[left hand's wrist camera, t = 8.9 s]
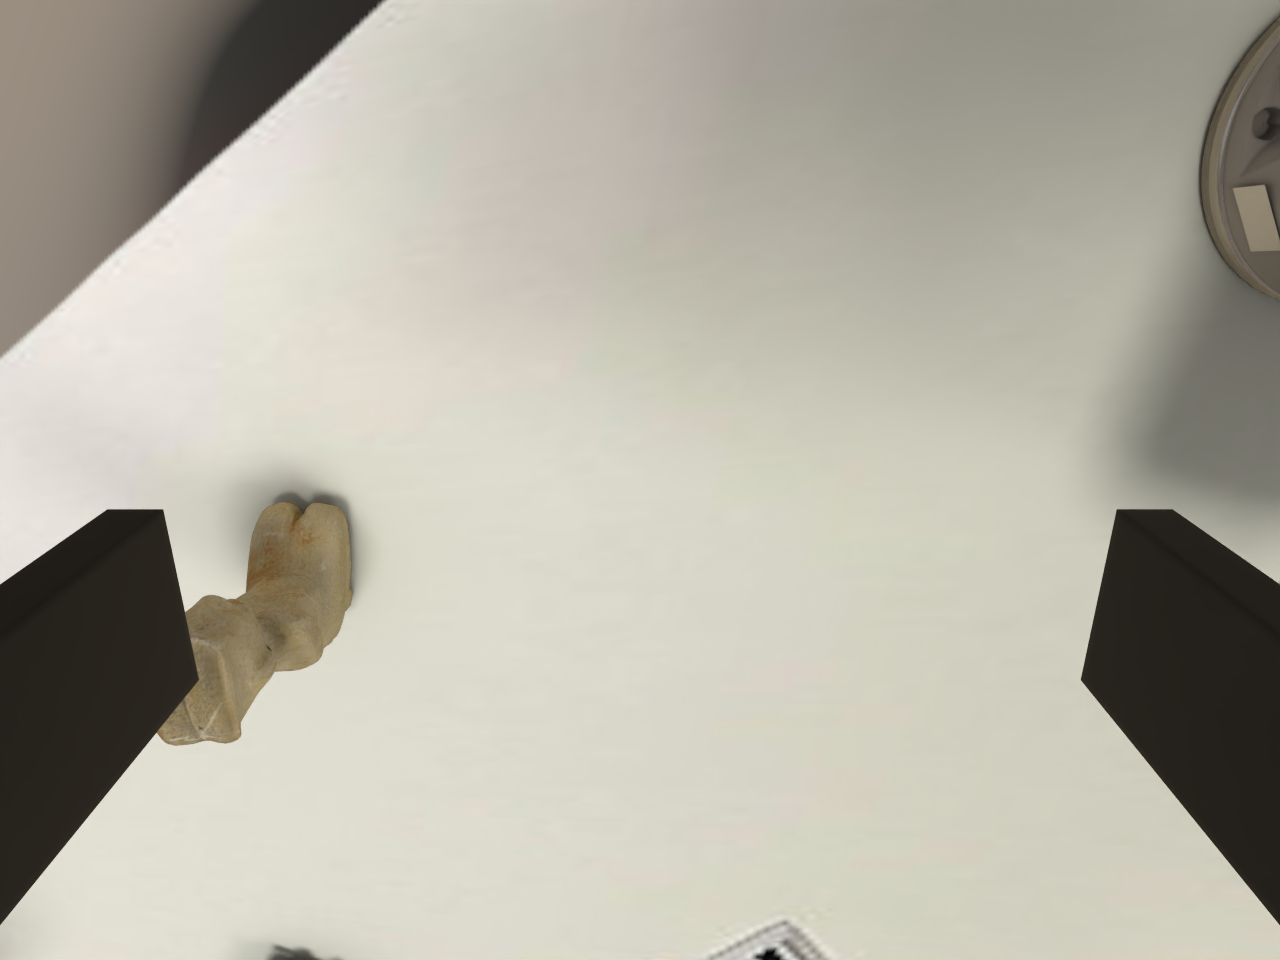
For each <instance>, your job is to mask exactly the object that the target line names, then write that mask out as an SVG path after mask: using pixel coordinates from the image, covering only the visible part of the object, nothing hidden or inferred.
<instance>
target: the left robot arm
mask: <svg viewBox="0 0 1280 960" xmlns="http://www.w3.org/2000/svg"><path fill="white" fill-rule="evenodd" d="M1201 189H1202V200H1203V207H1204V212H1205V217H1206V221H1207V224H1208V227H1209V231H1210V234H1211V236H1212V238H1213V240H1214V242H1215V245H1216V247H1217V248H1218V250H1219V252H1220V253H1221V255H1222V257H1223V258H1224V260H1225V261H1226V262H1227V263H1228V265H1229V266H1230V267H1231V268H1232V270H1233V271H1234V272H1235V273H1236V274H1238V275H1239V276H1240V277H1241V278H1242V279H1243V280H1244V281H1245V282H1247V283H1248V284H1249V285H1251V286H1252V287H1254V288H1255V289H1257V290H1259V291H1260V292H1262V293H1264V294H1266V295H1268V296H1270V297H1273V298H1275V299H1278V300H1280V18H1279V19H1278V20H1277V21H1276V22H1274V23H1273V24H1272V25H1271V27H1270V28H1269V29H1268V30H1267V31H1266V32H1265V33H1264V34H1263V35H1262V36H1261V37H1260V38H1259V40H1258V41H1257V42H1256V43H1255V45H1254V46H1253V47H1252V48H1251V50H1250V51H1249V52H1248V53H1247V55H1246V56H1245V58H1244V59H1243V61H1242V62H1241V63H1240V65H1239V66H1238V68H1237V69H1236V71H1235V73H1234V74H1233V76H1232V78H1231V80H1230V81H1229V83H1228V85H1227V87H1226V89H1225V91H1224V93H1223V95H1222V97H1221V99H1220V101H1219V103H1218V106H1217V108H1216V111H1215V114H1214V116H1213V119H1212V122H1211V125H1210V129H1209V132H1208V136H1207V139H1206V144H1205V149H1204V155H1203V163H1202V180H1201ZM198 681H199V677H198V672H197V667H196V663H195V658H194V653H193V648H192V644H191V639H190V634H189V630H188V625H187V620H186V615H185V611H184V606H183V601H182V596H181V592H180V587H179V582H178V578H177V573H176V568H175V563H174V559H173V554H172V549H171V544H170V540H169V535H168V530H167V526H166V521H165V516H164V511H163V509H107V510H106V511H105V512H103V513H102V514H100V515H99V516H97V517H96V518H95V519H93V520H92V521H90V522H89V523H87V524H86V525H85V526H83V527H82V528H80V529H79V530H77V531H76V532H75V533H73V534H72V535H70V536H69V537H67V538H66V539H65V540H63V541H62V542H60V543H59V544H57V545H56V546H55V547H53V548H52V549H50V550H49V551H47V552H46V553H45V554H43V555H42V556H40V557H39V558H37V559H36V560H35V561H33V562H32V563H30V564H29V565H27V566H26V567H25V568H23V569H22V570H20V571H19V572H17V573H16V574H15V575H13V576H12V577H10V578H9V579H7V580H6V581H5V582H3V583H2V584H0V925H1V923H2V922H3V921H4V920H5V918H6V917H7V916H8V915H9V914H10V912H11V911H12V910H13V909H14V907H15V906H16V905H17V904H18V902H19V901H20V900H21V899H22V898H23V896H24V895H25V894H26V893H27V891H28V890H29V889H30V888H31V886H32V885H33V884H34V883H35V882H36V880H37V879H38V878H39V877H40V875H41V874H42V873H43V872H44V870H45V869H46V868H47V867H48V866H49V864H50V863H51V862H52V861H53V859H54V858H55V857H56V856H57V854H58V853H59V852H60V851H61V850H62V848H63V847H64V846H65V845H66V843H67V842H68V841H69V840H70V838H71V837H72V836H73V835H74V833H75V832H76V831H77V830H78V829H79V827H80V826H81V825H82V824H83V822H84V821H85V820H86V819H87V817H88V816H89V815H90V814H91V813H92V811H93V810H94V809H95V808H96V806H97V805H98V804H99V803H100V801H101V800H102V799H103V798H104V797H105V795H106V794H107V793H108V792H109V790H110V789H111V788H112V787H113V785H114V784H115V783H116V782H117V781H118V779H119V778H120V777H121V776H122V774H123V773H124V772H125V771H126V769H127V768H128V767H129V766H130V765H131V763H132V762H133V761H134V760H135V758H136V757H137V756H138V755H139V753H140V752H141V751H142V750H143V749H144V747H145V746H146V745H147V744H148V742H149V741H150V740H151V739H152V737H153V736H154V735H155V734H156V733H157V731H158V730H159V729H160V728H161V726H162V725H163V724H164V723H165V721H166V720H167V719H168V718H169V716H170V715H171V714H172V713H173V712H174V710H175V709H176V708H177V707H178V705H179V704H180V703H181V702H182V700H183V699H184V698H185V697H186V696H187V694H188V693H189V692H190V691H191V689H192V688H193V687H194V686H195V684H196V683H197V682H198ZM1081 681H1082V682H1083V683H1084V684H1085V686H1086V687H1087V688H1088V689H1089V691H1090V692H1091V693H1092V694H1093V696H1094V697H1095V698H1096V699H1097V700H1098V702H1099V703H1100V704H1101V705H1102V707H1103V708H1104V709H1105V710H1106V712H1107V713H1108V714H1109V715H1110V717H1111V718H1112V719H1113V720H1114V721H1115V723H1116V724H1117V725H1118V726H1119V728H1120V729H1121V730H1122V731H1123V733H1124V734H1125V735H1126V736H1127V737H1128V739H1129V740H1130V741H1131V742H1132V744H1133V745H1134V746H1135V747H1136V749H1137V750H1138V751H1139V752H1140V753H1141V755H1142V756H1143V757H1144V758H1145V760H1146V761H1147V762H1148V763H1149V765H1150V766H1151V767H1152V768H1153V769H1154V771H1155V772H1156V773H1157V774H1158V776H1159V777H1160V778H1161V779H1162V781H1163V782H1164V783H1165V784H1166V785H1167V787H1168V788H1169V789H1170V790H1171V792H1172V793H1173V794H1174V795H1175V797H1176V798H1177V799H1178V800H1179V801H1180V803H1181V804H1182V805H1183V806H1184V808H1185V809H1186V810H1187V811H1188V813H1189V814H1190V815H1191V816H1192V817H1193V819H1194V820H1195V821H1196V822H1197V824H1198V825H1199V826H1200V827H1201V829H1202V830H1203V831H1204V832H1205V833H1206V835H1207V836H1208V837H1209V838H1210V840H1211V841H1212V842H1213V843H1214V845H1215V846H1216V847H1217V848H1218V850H1219V851H1220V852H1221V853H1222V854H1223V856H1224V857H1225V858H1226V859H1227V861H1228V862H1229V863H1230V864H1231V866H1232V867H1233V868H1234V869H1235V870H1236V872H1237V873H1238V874H1239V875H1240V877H1241V878H1242V879H1243V880H1244V882H1245V883H1246V884H1247V885H1248V886H1249V888H1250V889H1251V890H1252V891H1253V893H1254V894H1255V895H1256V896H1257V898H1258V899H1259V900H1260V901H1261V902H1262V904H1263V905H1264V906H1265V907H1266V909H1267V910H1268V911H1269V912H1270V914H1271V915H1272V916H1273V917H1274V918H1275V920H1276V921H1277V922H1278V923H1279V925H1280V582H1279V584H1278V583H1277V582H1275V581H1274V580H1273V579H1271V578H1270V577H1268V576H1267V575H1265V574H1264V573H1263V572H1261V571H1260V570H1258V569H1257V568H1255V567H1254V566H1253V565H1251V564H1250V563H1248V562H1247V561H1245V560H1244V559H1243V558H1241V557H1240V556H1238V555H1237V554H1235V553H1234V552H1233V551H1231V550H1230V549H1228V548H1227V547H1225V546H1224V545H1223V544H1221V543H1220V542H1218V541H1217V540H1215V539H1214V538H1213V537H1211V536H1210V535H1208V534H1207V533H1205V532H1204V531H1203V530H1201V529H1200V528H1198V527H1197V526H1195V525H1194V524H1193V523H1191V522H1190V521H1188V520H1187V519H1185V518H1184V517H1183V516H1181V515H1180V514H1178V513H1177V512H1175V511H1174V510H1173V509H1117V511H1116V516H1115V521H1114V526H1113V530H1112V535H1111V540H1110V544H1109V549H1108V554H1107V559H1106V563H1105V568H1104V573H1103V578H1102V582H1101V587H1100V592H1099V596H1098V601H1097V606H1096V611H1095V615H1094V620H1093V625H1092V629H1091V634H1090V639H1089V644H1088V648H1087V653H1086V658H1085V663H1084V667H1083V672H1082V677H1081Z"/></svg>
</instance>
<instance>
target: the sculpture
mask: <svg viewBox="0 0 1280 960" xmlns="http://www.w3.org/2000/svg"><path fill="white" fill-rule="evenodd" d="M350 575H351V558H350V542H349V531H348V525H347V520H346V517H345V515H344V513H343V512H342V510H341V509H340V508H339V507H337V506H333V505H328V504H323V503H312V504H311V505H309V506H308V507H307V508H306V510H305V512H304V514H302V512H301V511H300V509H299V508H298V507H297V506H295V505H293V504H291V503H288V502H281V503H278V504H274V505H271V506H269V507H267V508H266V509H265V510H264V511H263V513H262V514H261V515H260V517H259V519H258V521H257V523H256V526H255V529H254V531H253V534H252V539H251V546H250V554H249V562H248V572H247V585H246V593H245V594H243V595H241V596H240V597H238V598H237V599H228V600H227V599H225V598H222V597H219V596H215V595H207V596H205V597H203V598H201V599H200V600H199V601H198V602H197V603H196V604H195V605H194V606H193V607H192V608H190V609H189V610H188V611H186V612H185V615H186V620H187V625H188V630H189V634H190V639H191V644H192V648H193V653H194V658H195V663H196V667H197V672H198V677H199V681H198V682H197V683H196V684H195V686H194V687H193V688H192V689H191V691H190V692H189V693H188V694H187V696H186V697H185V698H184V699H183V700H182V702H181V703H180V704H179V705H178V707H177V708H176V709H175V710H174V712H173V713H172V714H171V715H170V716H169V718H168V719H167V720H166V721H165V723H164V724H163V725H162V726H161V728H160V729H159V730H158V731H157V734H158V735H159V736H160V737H161V739H162V740H163V741H164V742H165V743H167V744H171V745H176V746H177V745H188V744H194V743H198V742H201V741H214V742H218V743H230V742H234V741H236V740H237V739H239V738H240V736H241V721H242V719H243V717H244V716H245V714H246V712H247V711H248V709H249V707H250V706H251V704H252V702H253V701H254V699H255V697H256V696H257V694H258V693H259V691H260V690H261V689H262V688H263V687H264V685H265V684H266V683H267V682H268V681H269V680H270V678H271V677H272V675H273V674H274V672H277V671H294V670H299V669H303V668H306V667H308V666H310V665H312V664H314V663H316V662H317V661H318V660H319V659H320V658H321V656H322V653H323V648H325V647H326V646H327V645H329V644H330V643H331V642H332V640H333V639H334V638H335V637H336V636H337V635H338V633H339V631H340V628H341V625H342V622H343V618H344V614H345V611H346V610H347V609H348V608H349V606H350V604H351V601H352V589H351V587H350V586H349V585H350Z"/></svg>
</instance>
